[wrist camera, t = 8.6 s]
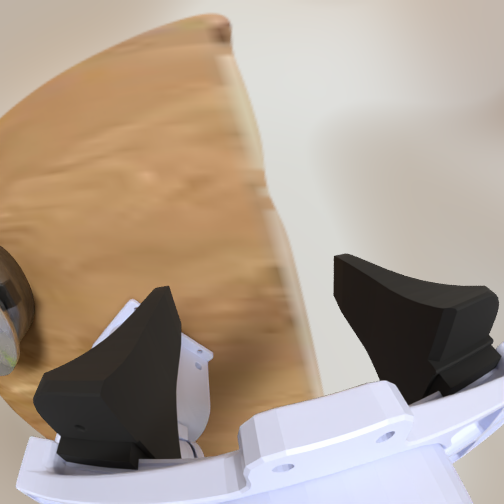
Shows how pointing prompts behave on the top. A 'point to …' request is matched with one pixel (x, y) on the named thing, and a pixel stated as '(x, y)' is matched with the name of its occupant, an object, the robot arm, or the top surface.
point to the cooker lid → (7, 343)
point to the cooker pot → (15, 294)
